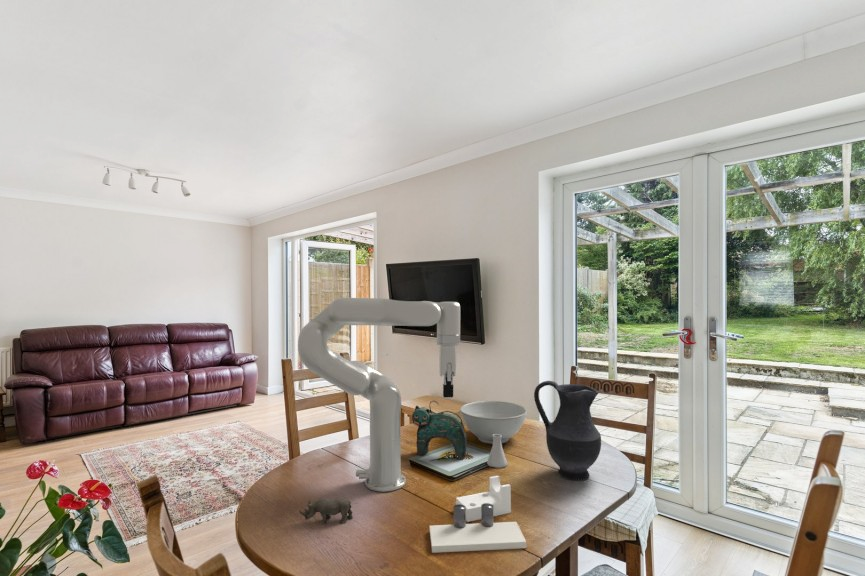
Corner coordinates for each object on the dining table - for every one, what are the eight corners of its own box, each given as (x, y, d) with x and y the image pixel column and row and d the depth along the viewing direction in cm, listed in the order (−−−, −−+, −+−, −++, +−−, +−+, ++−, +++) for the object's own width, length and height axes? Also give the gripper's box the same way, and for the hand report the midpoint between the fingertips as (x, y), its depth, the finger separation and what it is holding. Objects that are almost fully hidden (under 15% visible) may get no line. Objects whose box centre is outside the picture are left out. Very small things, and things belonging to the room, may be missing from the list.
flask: (507, 469, 150) (507, 439, 150) (486, 467, 151) (485, 438, 151) (508, 461, 157) (508, 432, 157) (487, 459, 158) (487, 431, 158)
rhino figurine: (301, 518, 119) (301, 495, 119) (353, 515, 120) (353, 493, 120) (297, 526, 115) (297, 502, 115) (351, 523, 115) (351, 500, 116)
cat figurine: (411, 455, 163) (411, 400, 163) (417, 449, 169) (417, 396, 169) (464, 461, 156) (463, 404, 157) (468, 455, 163) (468, 400, 163)
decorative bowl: (536, 435, 184) (536, 405, 184) (512, 455, 162) (511, 422, 162) (478, 425, 199) (478, 397, 199) (448, 442, 176) (447, 412, 176)
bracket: (497, 502, 127) (497, 475, 127) (510, 513, 121) (510, 485, 121) (456, 510, 122) (456, 483, 122) (467, 523, 116) (467, 493, 116)
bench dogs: (454, 534, 110) (454, 510, 110) (453, 528, 113) (452, 504, 113) (494, 533, 110) (494, 508, 110) (492, 526, 113) (492, 502, 113)
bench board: (432, 552, 102) (432, 546, 102) (429, 531, 111) (429, 525, 111) (526, 548, 104) (526, 541, 104) (516, 527, 113) (516, 521, 113)
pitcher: (602, 489, 134) (601, 389, 134) (532, 480, 141) (531, 385, 141) (600, 467, 150) (599, 378, 150) (537, 460, 157) (536, 375, 157)
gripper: (436, 337, 151) (436, 391, 151) (437, 342, 136) (437, 402, 136) (458, 337, 151) (458, 391, 151) (462, 342, 137) (461, 402, 136)
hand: (448, 396), depth 144 cm, fingers closed
